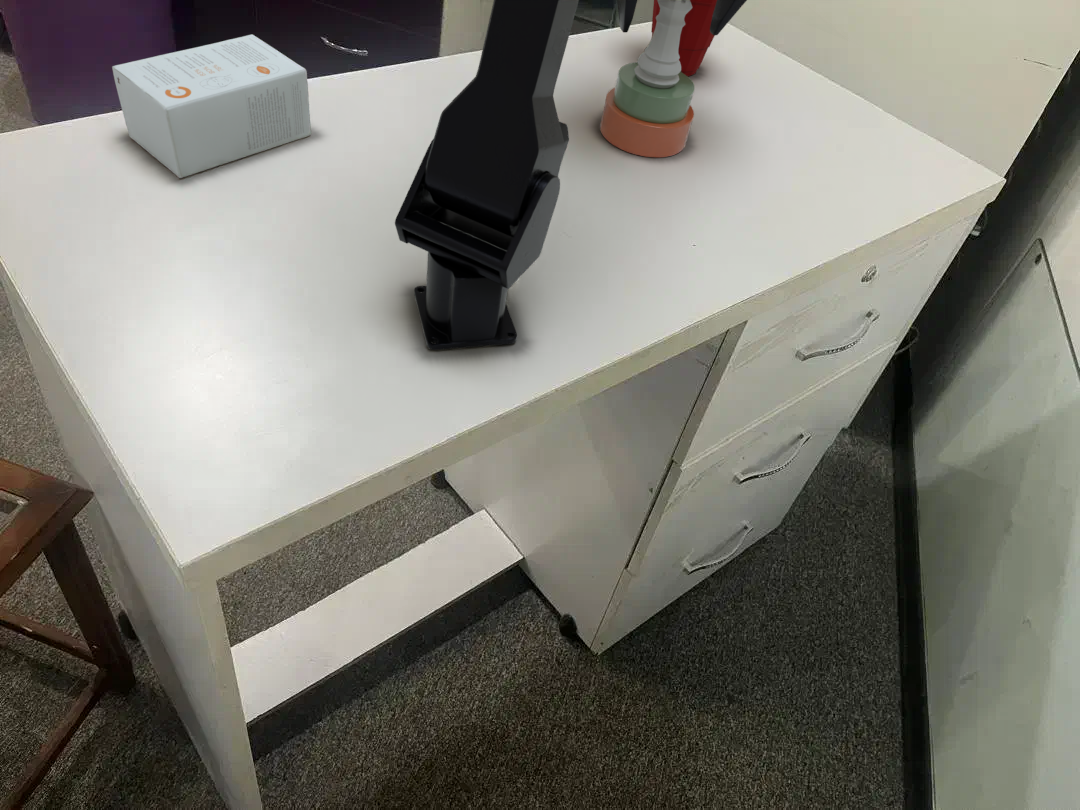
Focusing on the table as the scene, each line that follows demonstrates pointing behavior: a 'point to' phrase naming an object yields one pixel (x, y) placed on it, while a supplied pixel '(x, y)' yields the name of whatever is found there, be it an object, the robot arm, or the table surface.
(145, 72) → the small box
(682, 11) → the rook chess piece
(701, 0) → the plastic cup
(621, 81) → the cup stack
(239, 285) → the table surface
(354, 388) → the table surface
